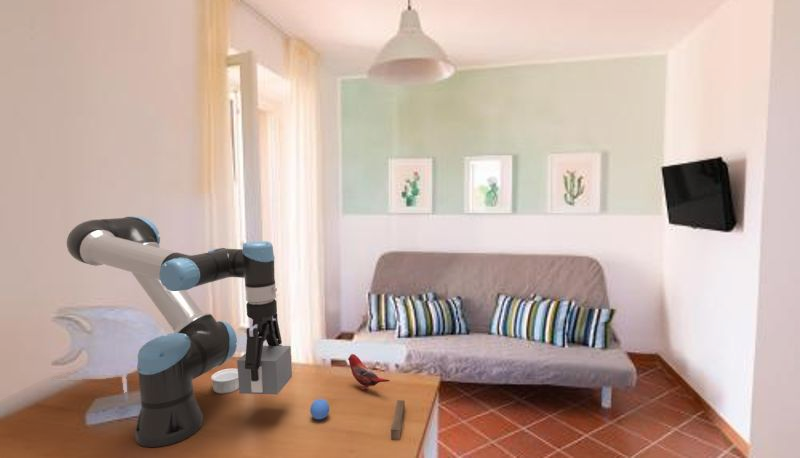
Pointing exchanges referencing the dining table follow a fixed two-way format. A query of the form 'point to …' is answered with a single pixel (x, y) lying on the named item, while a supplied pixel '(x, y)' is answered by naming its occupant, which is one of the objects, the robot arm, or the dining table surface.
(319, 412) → the ball
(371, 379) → the decorative bird figurine
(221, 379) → the ramekin
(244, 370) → the gray storage cube
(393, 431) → the strip
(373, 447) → the dining table surface
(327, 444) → the dining table surface
